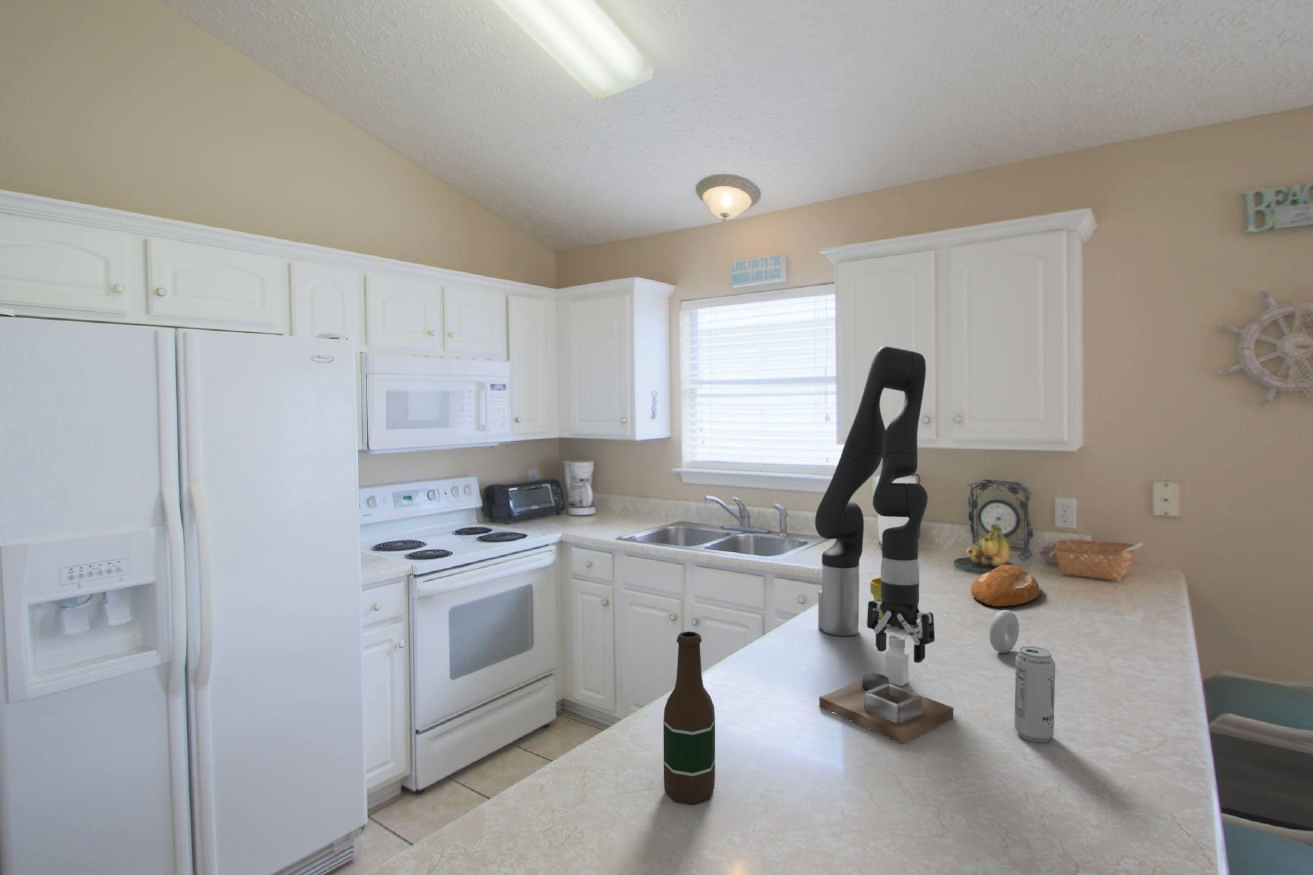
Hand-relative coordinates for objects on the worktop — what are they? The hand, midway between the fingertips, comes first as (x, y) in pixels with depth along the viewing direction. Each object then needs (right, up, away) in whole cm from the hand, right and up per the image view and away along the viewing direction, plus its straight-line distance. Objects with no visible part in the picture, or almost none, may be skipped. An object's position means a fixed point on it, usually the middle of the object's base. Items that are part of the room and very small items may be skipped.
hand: (899, 655), depth 142 cm
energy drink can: (+15, -7, -23) cm, 28 cm away
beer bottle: (-46, -8, -39) cm, 61 cm away
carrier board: (-8, -6, -13) cm, 17 cm away
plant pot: (+13, -4, +44) cm, 46 cm away
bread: (+56, -3, +66) cm, 86 cm away
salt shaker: (-1, -6, 0) cm, 6 cm away
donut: (+31, -5, +17) cm, 35 cm away
